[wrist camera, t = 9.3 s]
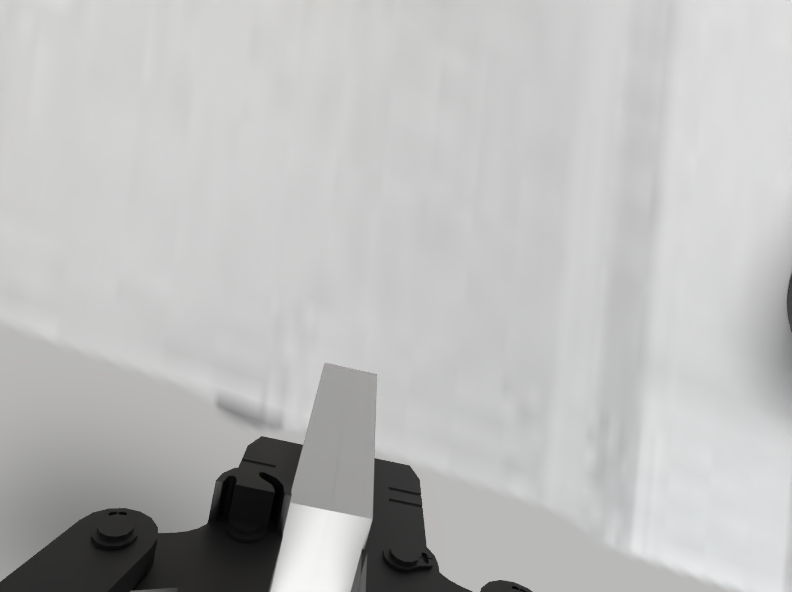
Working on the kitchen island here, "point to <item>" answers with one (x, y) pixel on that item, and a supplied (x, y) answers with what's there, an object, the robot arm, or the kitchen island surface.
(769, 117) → the kitchen island surface
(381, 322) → the kitchen island surface
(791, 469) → the kitchen island surface
